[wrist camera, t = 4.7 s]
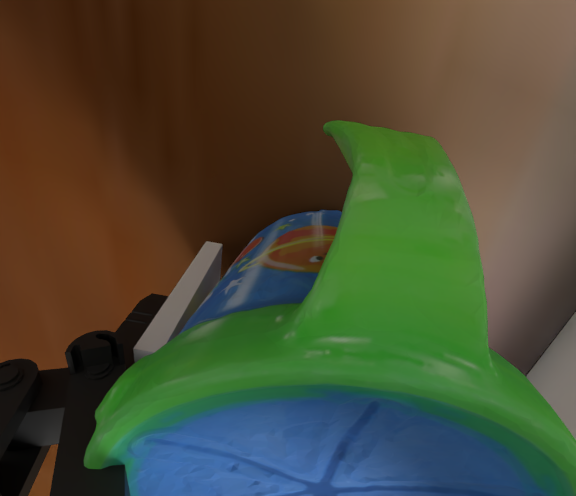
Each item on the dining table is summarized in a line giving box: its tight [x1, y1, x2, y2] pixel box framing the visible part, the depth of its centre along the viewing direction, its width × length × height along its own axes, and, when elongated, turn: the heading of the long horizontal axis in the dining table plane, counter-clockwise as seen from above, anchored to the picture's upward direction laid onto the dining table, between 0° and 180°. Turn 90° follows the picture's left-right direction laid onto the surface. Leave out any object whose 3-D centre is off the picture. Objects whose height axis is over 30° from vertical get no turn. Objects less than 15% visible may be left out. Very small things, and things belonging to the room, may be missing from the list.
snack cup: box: [84, 120, 576, 496], centre depth 11 cm, size 16×10×10 cm
